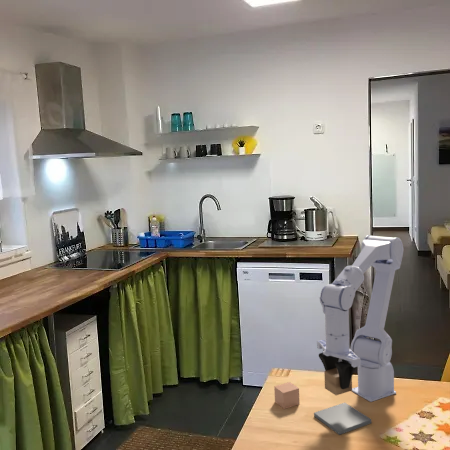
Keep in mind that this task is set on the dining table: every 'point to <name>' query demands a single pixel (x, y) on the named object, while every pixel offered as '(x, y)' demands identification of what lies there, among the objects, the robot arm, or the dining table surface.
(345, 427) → the base plate
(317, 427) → the dining table surface
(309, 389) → the dining table surface
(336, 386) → the walnut brick
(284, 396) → the pinkish tan block
